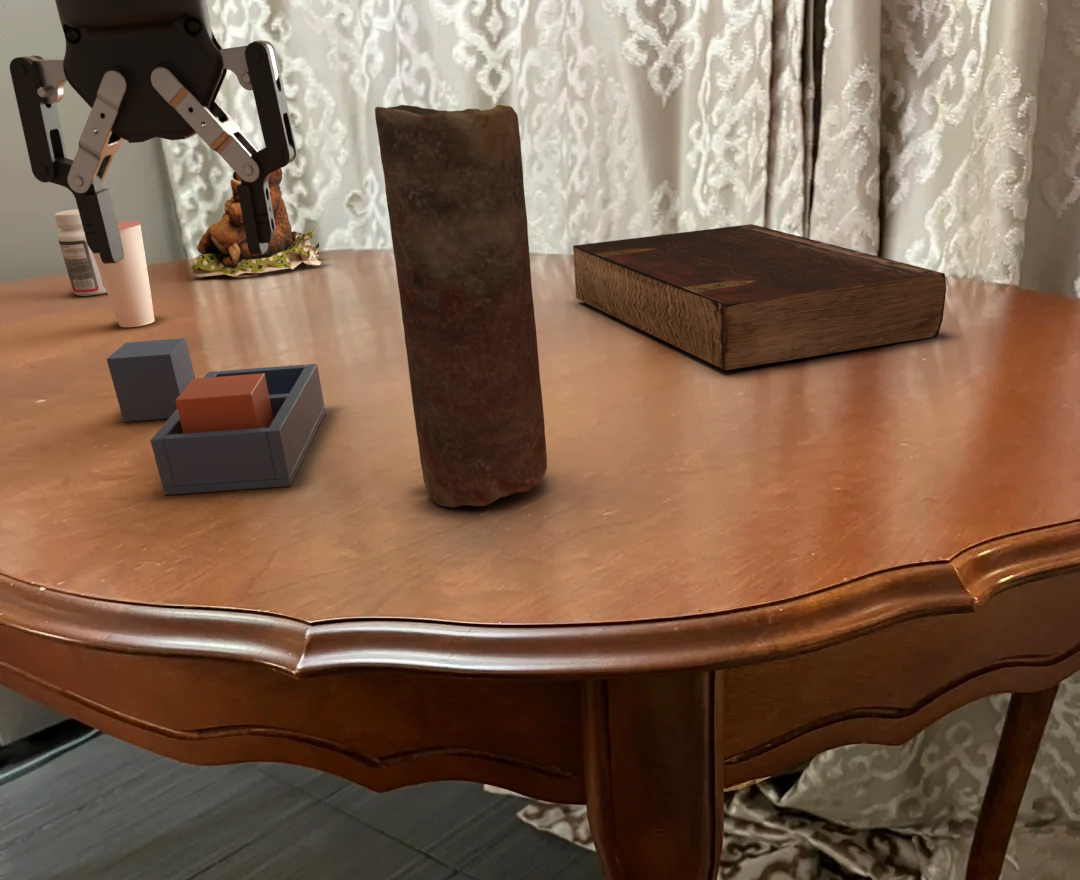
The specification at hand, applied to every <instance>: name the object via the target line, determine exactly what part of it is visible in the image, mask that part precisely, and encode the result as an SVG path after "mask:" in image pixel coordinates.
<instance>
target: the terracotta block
mask: <svg viewBox="0 0 1080 880" xmlns="http://www.w3.org/2000/svg"><path fill="white" fill-rule="evenodd" d="M176 405H177V409H178V413H179V417H180V421H181V425H182V429H183V433H184V434H186V433H200V432H213V431H227V430H240V429H254V428H269V427H270V425H271V423H272V422H273V420H274V418H273V413H272V408H271V403H270V398H269V393H268V389H267V384H266V379H265V374H264V373H261V374H248V375H235V376H223V377H210V378H204V377H197V378H195V379H193V380H192V381H191V382H190V383H189V384H188V386H187V387H186V388H185V389H184V390H183V392H182V393H181V394H180V395H179V396H178V398H177V399H176Z"/></svg>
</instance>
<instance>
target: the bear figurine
mask: <svg viewBox="0 0 1080 880" xmlns="http://www.w3.org/2000/svg"><path fill="white" fill-rule="evenodd" d="M233 171H234V170H233ZM283 174H284V173H283V170H282V168H280V169H278V170H276V171H274V172H272V173H271V174H270V176H269V179H268V186H269V191H270V197H271V203H272V209H273V215H274V220H275V226H276V232H275V237H274V239H273V240H272V241H271V242H270V243H268V250H267V251H266V252H265V253H264V254H260V255H250V253H249V249H248V244H247V239H246V234H245V228H244V223H243V218H242V212H241V207H240V201H239V196H238V191H237V185H238V184H240V183H241V180H240V176H239V175H238V174H237V173H236V172H235V171H234V172H233V173H232V179H230V187H231V191H232V196H231V197H230V199H227V200H225V202H224V213H223V215H222V218H221V219H220V220H219V221H217V222H216V223H213V224H211V225H209V227H207V229H206V230H205V232H204V233H203V235H202V236H201V238H200V240H199V241H198V244H197V246H196V249H197V251H198V253H200V254H199V255H198V256H196V258H195V259H194V260H193V263H192V266H191V267H190V269H191V271H190V272H191V274H192V275H193V276H194V277H196V278H205V277H213V276H220V275H221V276H222V275H226V276H229V277H233V278H246V277H258V276H259V274H262V273H268V272H275V271H281V270H287V269H291V270H294V269H295V268H296V267H298V266H299V265H300V264H301V263H304V264H306V265H312V266H320V265H321V264H322V263H323V262H322V261H320V260H318V258H319V256H320V254H321V251H320V250H319V249H320V248H319V247H320V244H321V243H320V241H318V242H317V244H315V245H313V244H311V243H310V242H308V241H309V240H311V239H312V238H313V235H314V233H315V230H310V231H307V232H303V231H302V232H300V231H295V230H294V231H292V225H291V223H290V220H289V214H288V211H287V206H286V203H285V201H284V199H283V197H282V190H281V186H280V184H281V182H282V181H283ZM247 273H248V274H250V275H243V274H247Z"/></svg>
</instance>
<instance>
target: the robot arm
mask: <svg viewBox="0 0 1080 880" xmlns="http://www.w3.org/2000/svg"><path fill="white" fill-rule="evenodd" d="M54 1H55V6H56V9H57V13H58V19H59V22H60V25H61V28H62V31H63V32H62V33H63V34H64V37H65V38H64V39H65V52H64V57H63V58H62V59H57V58H56V59H54V58H52V59H51V58H49V59H48V58H47V59H46V58H45V59H44V58H43V57H42V56H40V55H27V56H19V57H14V58H13V59H12V60H11V61H10V63H9V72H10V78H11V82H12V86H13V90H14V91H13V92H14V95H15V99H16V104H17V109H18V113H19V117H20V122H21V126H22V131H23V137H24V141H25V145H26V151H27V155H28V158H29V164H30V167H31V172H32V174H33V176H34V178H35V179H36V180H37V181H38V182H41V183H51V184H55V185H57V186H61V187H64V188H66V189H68V190H69V191H70V192H71V193H72V195H73V197H74V199H75V202H76V207H77V209H78V210H79V214H80V218H81V222H82V225H83V230H84V233H85V237H86V241H87V245H88V246H89V248H90V249H91V251H92V252H93V253H99V254H100V258H101V260H102V262H103V263H104V264H109V263H117V262H119V261H120V260H122V259H123V258H124V249H123V244H122V240H121V236H120V232H119V228H118V224H117V222H118V220H117V216H116V211H115V207H114V204H113V200H112V199H113V198H112V196H111V191H110V188H104V185H103V183H104V180H105V179H106V175H107V173H108V171H109V168H110V166H111V163H112V161H113V159H114V157H115V155H116V153H117V152H118V151H119V150H120V147H121V145H122V143H123V140H125V141H127V142H128V144H134V143H137V144H138V143H144V142H147V141H149V140H152V139H155V138H159V139H163V140H169V141H180V140H187V139H189V138H192V137H194V136H195V135H198V136H199V137H200V138H201V139H202V140H203V141H204V143H205V144H206V145H207V146H208V147H209V148H210V149H211V150H213V151H214V152H216V153H217V154H218V155H219V156H220V157H221V158H222V159H223V160H224V161H225V162H226V163H227V164H228V166H229V167H230V168H231V169H232V170H233V171H235V172H236V173H237V174H238V175H239V176H240V180H241V183H240V184H238V185H237V191H238V196H239V201H240V207H241V212H242V218H243V223H244V228H245V234H246V239H247V244H248V249H249V253H250V255H260V254H264V253H265V252H266V251H267V250H268V243H270V242H271V241H272V240H273V239H274V237H275V232H276V226H275V220H274V215H273V209H272V203H271V197H270V191H269V186H268V179H269V176H270V174H271V173H272V172H274V171H276V170H278V169H280V168H281V169H282V168H285V167H287V166H288V165H289V164H290V163H292V162H294V161H295V160H296V158H297V157H298V148H297V144H296V140H295V139H296V138H295V134H294V129H293V124H292V120H291V115H290V111H289V105H288V101H287V96H286V92H285V88H284V83H283V79H282V77H283V76H282V74H281V69H280V63H279V59H278V54H277V50H276V47H275V45H273V44H272V43H271V42H270V41H267V40H262V39H261V40H260V39H259V40H255V41H252V42H250V43H248V44H247V45H242V46H233V47H228V48H227V47H225V48H222V47H221V45H220V43H219V42H218V40H217V38H216V36H215V34H214V31H213V29H212V25H211V18H210V14H209V8H208V2H207V0H54ZM228 70H229V71H231V72H232V73H233V74H235V76H236V78H237V80H238V83H239V85H240V86H241V87H242V88H243V89H244V90H246V91H249V92H250V91H251V92H252V93H253V99H254V102H255V106H256V112H257V115H258V119H259V124H260V129H261V133H262V138H263V142H264V146H265V147H263V148H262V149H260V150H258V148H257V147H256V146H255V145H254V144H253V143H252V142H251V141H250V140H249V138H248V137H247V136H246V134H244V132H243V131H242V129H241V127H240V126H239V124H238V123H237V122H236V121H235V119H233V117H232V116H231V115H230V114H229V113H228V112H227V111H226V110H225V109H224V107H223V106H222V105H221V104H220V103H219V102H218V101H217V97H218V94H219V92H220V90H221V88H222V85H223V82H224V80H225V78H226V76H227V72H228ZM67 82H68V84H69V85H70V86H71V88H72V89H73V90H74V91H75V92H76V93H77V94H78V95H79V97H80V98H81V99H82V100H83V101H84V102H85V103H86V105H88V107H89V108H90V109H91V110H90V113H89V115H88V118H87V120H86V122H85V125H84V128H83V129H82V133H81V135H80V138H79V140H78V149H77V151H76V154H75V157H74V159H70V158H68V153H67V149H66V145H65V139H64V135H63V129H62V124H61V120H60V115H59V109H58V105H57V103H59V102H61V101H62V100H63V98H64V93H65V91H64V87H65V84H66V83H67Z"/></svg>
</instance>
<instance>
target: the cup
mask: <svg viewBox="0 0 1080 880" xmlns="http://www.w3.org/2000/svg"><path fill="white" fill-rule="evenodd" d="M117 224H118V228H119V232H120V236H121V240H122V244H123V249H124V258H123V259H122V260H120V261H119V262H117V263H109V264H104V263H103V262H102V260H101V258H100V254H99V253H93V252H92V253H93V255H94V258H95V261H96V264H97V266H98V269H99V272H100V275H101V277H102V280H103V283H104V286H105V288H106V291H107V293H106V294H107V297H108V299H109V302H110V304H111V307H112V309H113V312H114V315H115V318H116V321H117V323H118V326H119V327H121V328H137V327H143V326H148V325H151V324H152V323H154V322H155V321H156V319H155V312H154V307H153V297H152V292H151V285H150V280H149V277H150V276H149V272H148V265H147V257H146V253H145V252H146V251H145V245H144V240H143V232H142V225H141V224H142V221H137V220H136V221H134V220H129V221H128V220H127V221H125V220H124V221H117ZM83 231H84V230H83Z"/></svg>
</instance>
